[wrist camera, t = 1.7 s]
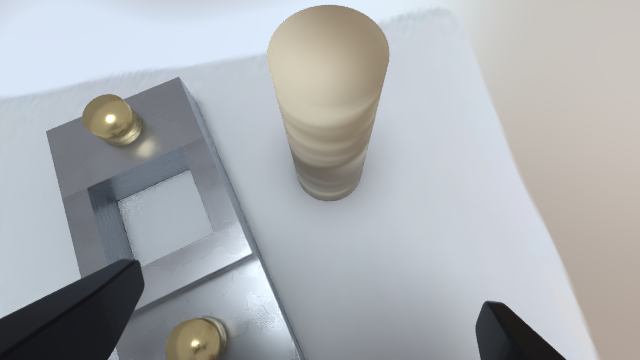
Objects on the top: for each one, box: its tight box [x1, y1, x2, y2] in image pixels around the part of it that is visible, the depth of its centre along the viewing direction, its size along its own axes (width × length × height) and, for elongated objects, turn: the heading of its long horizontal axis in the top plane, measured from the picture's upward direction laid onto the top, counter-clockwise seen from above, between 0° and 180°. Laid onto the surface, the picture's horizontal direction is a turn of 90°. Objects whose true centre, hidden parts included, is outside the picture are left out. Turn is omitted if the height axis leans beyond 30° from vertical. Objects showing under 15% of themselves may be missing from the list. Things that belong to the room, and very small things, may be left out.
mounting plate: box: [46, 77, 305, 360], centre depth 20 cm, size 9×22×5 cm, turn 26°
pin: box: [267, 5, 389, 201], centre depth 18 cm, size 4×4×12 cm
